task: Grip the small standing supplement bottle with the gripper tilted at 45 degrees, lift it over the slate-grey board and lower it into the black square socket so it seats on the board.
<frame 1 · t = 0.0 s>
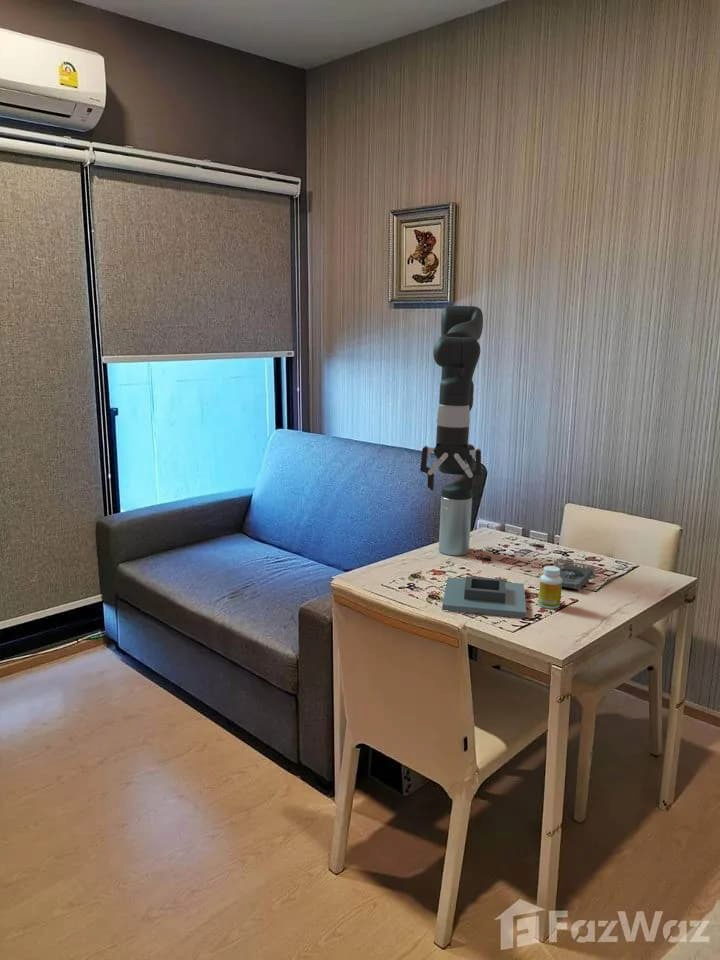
hand: (449, 490, 178), 29 cm above the table, tool pointing down, fingers open, 8 cm apart
graphics card: (566, 582, 205), on the table
socket board: (484, 599, 189), on the table
supplement bottle: (548, 605, 187), on the table
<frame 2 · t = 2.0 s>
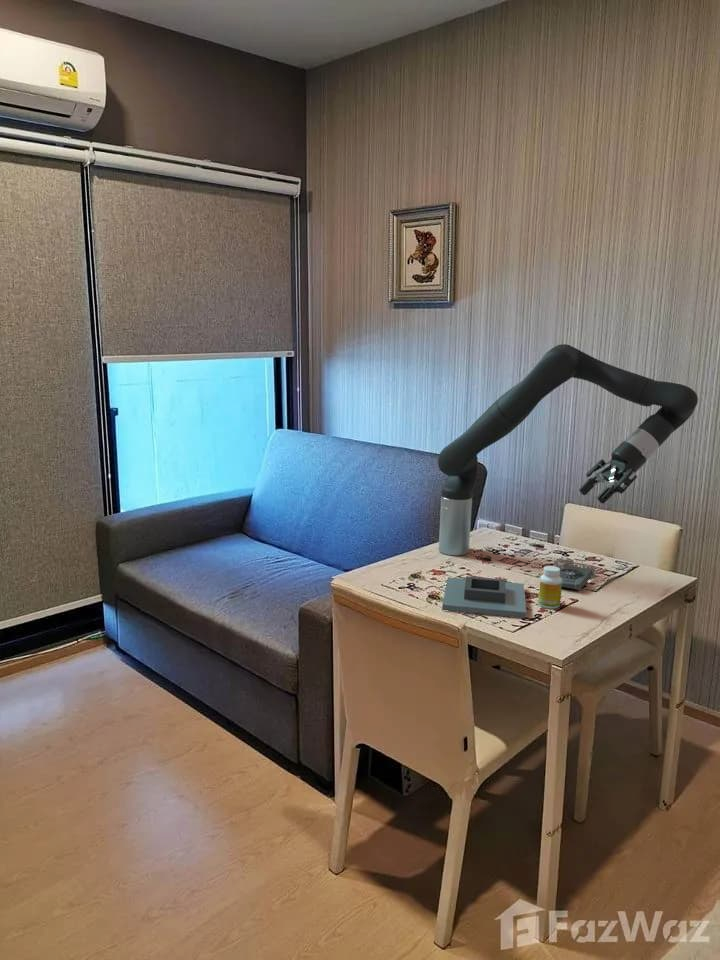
hand: (590, 496, 186), 27 cm above the table, tool tilted 45°, fingers open, 8 cm apart
nothing on the table moved.
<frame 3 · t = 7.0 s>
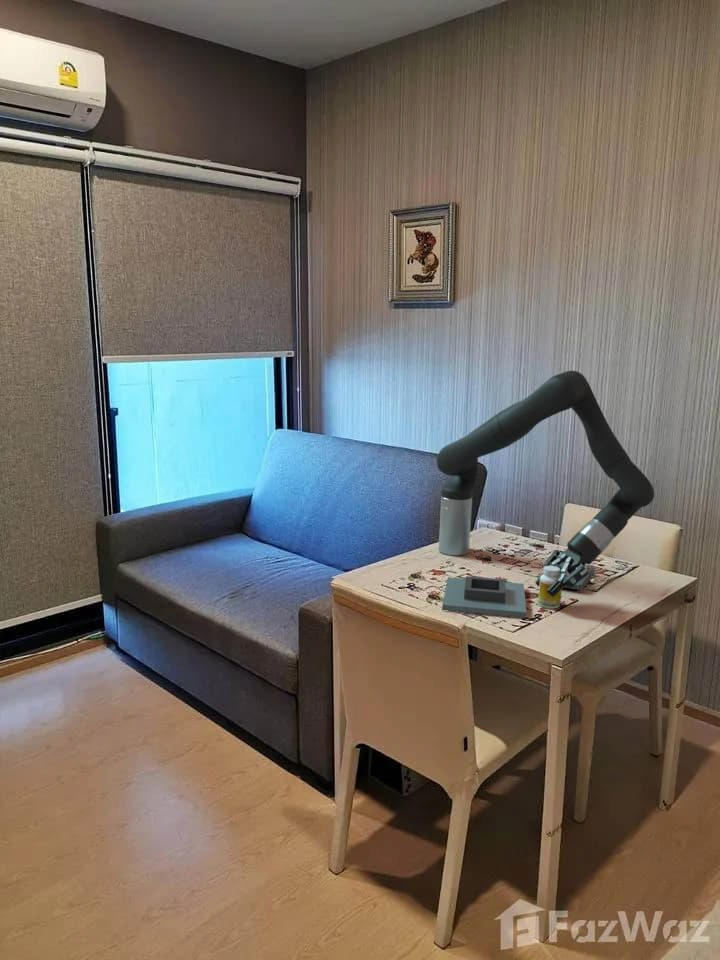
hand: (543, 589, 185), 4 cm above the table, tool tilted 45°, fingers closed on supplement bottle, 5 cm apart
supplement bottle: (548, 605, 187), on the table, touching gripper
everything else where it was.
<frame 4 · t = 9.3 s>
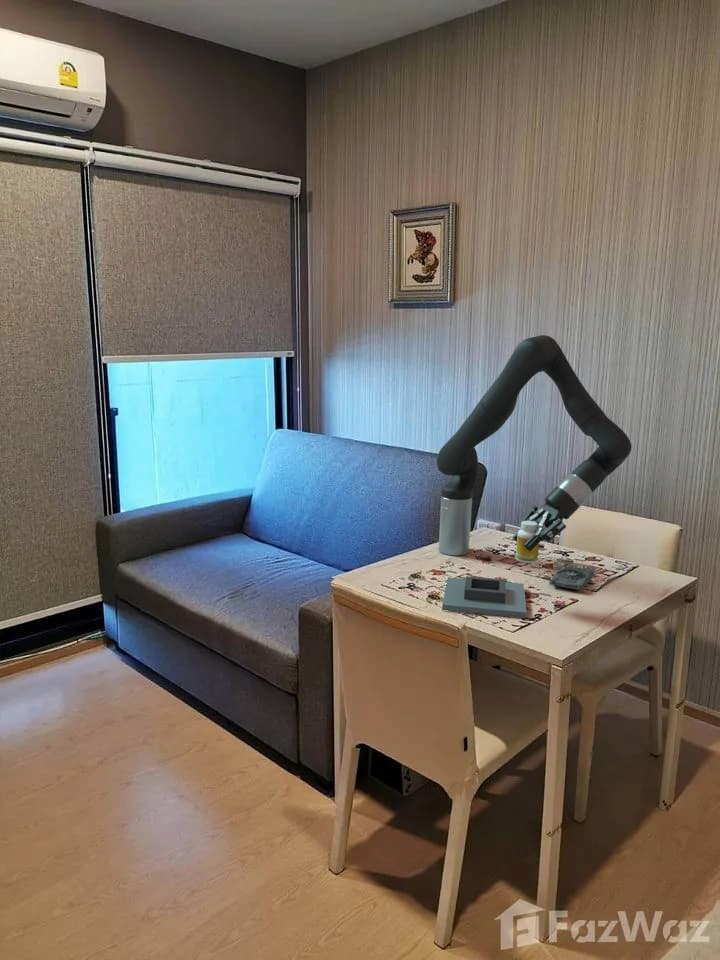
hand: (521, 544, 184), 15 cm above the table, tool tilted 45°, fingers closed on supplement bottle, 5 cm apart
supplement bottle: (526, 560, 186), point 11 cm above the table, touching gripper
everything else where it was.
when the fingers open (7 cm above the table, at t = 12.1 s): supplement bottle drops 1 cm, resting on socket board.
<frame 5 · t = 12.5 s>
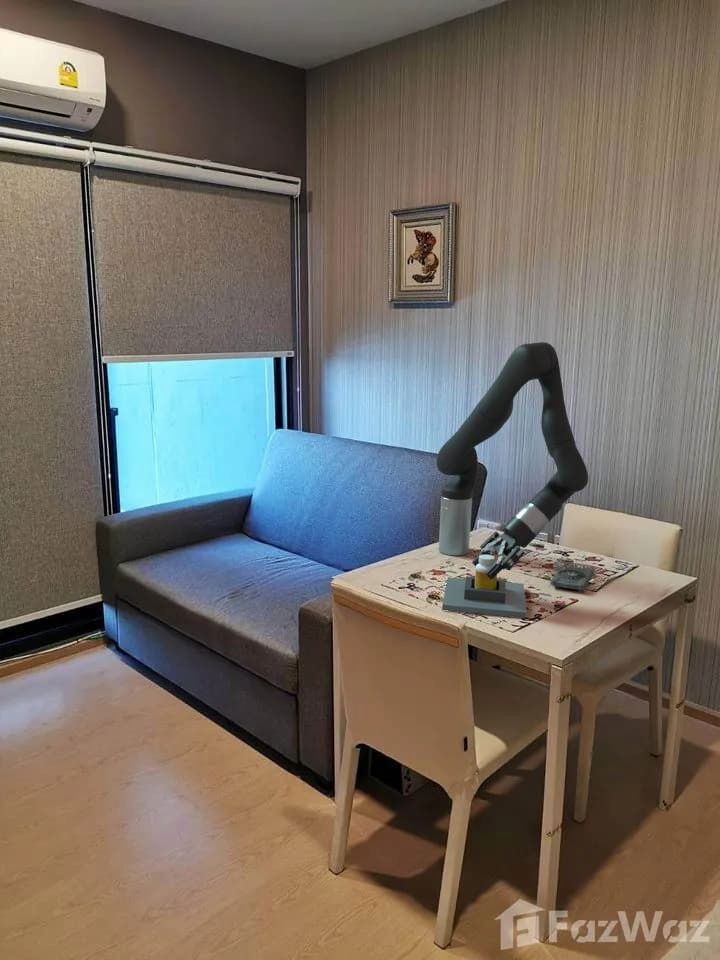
hand: (481, 571, 187), 8 cm above the table, tool tilted 45°, fingers open, 8 cm apart
supplement bottle: (485, 594, 189), point 1 cm above the table, touching socket board
everything else where it was.
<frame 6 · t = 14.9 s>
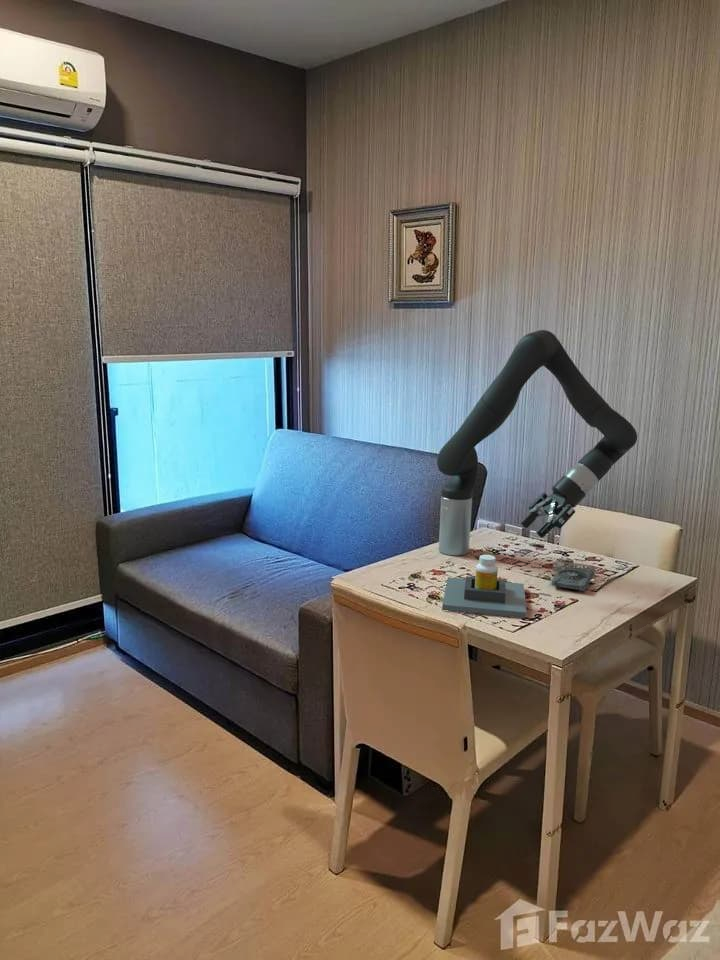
hand: (530, 530, 188), 18 cm above the table, tool tilted 45°, fingers open, 8 cm apart
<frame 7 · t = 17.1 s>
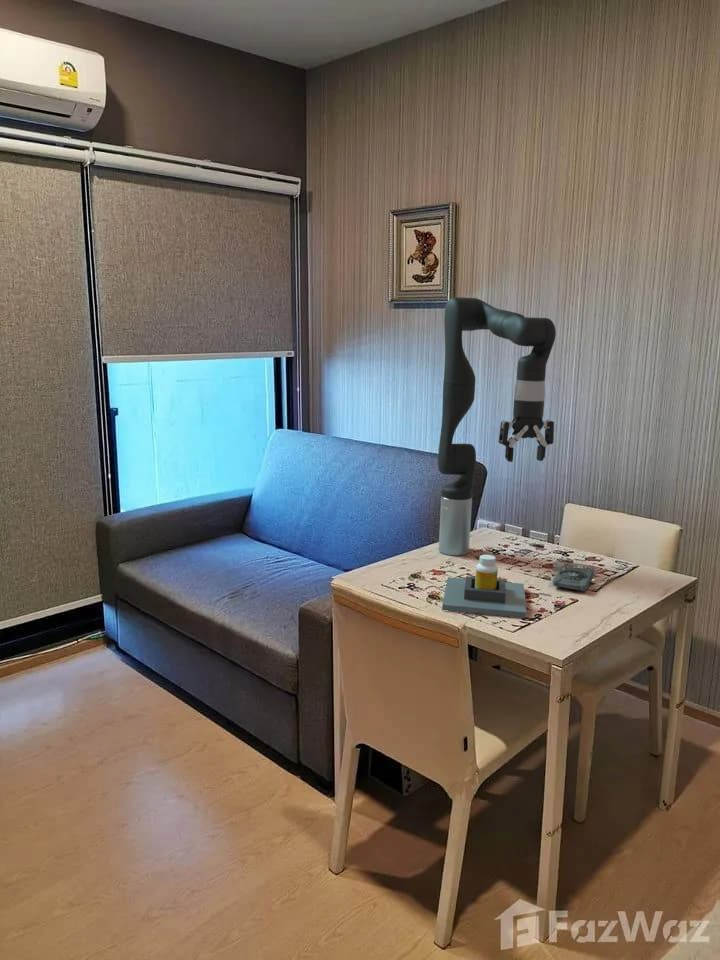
hand: (524, 460, 192), 34 cm above the table, tool pointing down, fingers open, 8 cm apart
at the end: supplement bottle 0.2 cm off-centre on the socket board, point 1.3 cm above the socket board's base; supplement bottle tilted 0°; the gripper is holding nothing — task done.
